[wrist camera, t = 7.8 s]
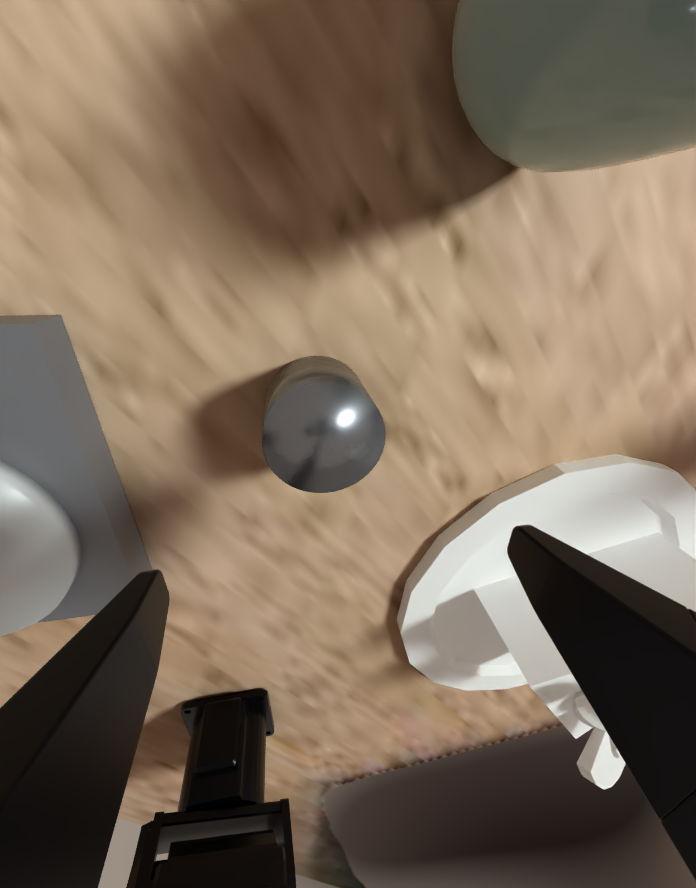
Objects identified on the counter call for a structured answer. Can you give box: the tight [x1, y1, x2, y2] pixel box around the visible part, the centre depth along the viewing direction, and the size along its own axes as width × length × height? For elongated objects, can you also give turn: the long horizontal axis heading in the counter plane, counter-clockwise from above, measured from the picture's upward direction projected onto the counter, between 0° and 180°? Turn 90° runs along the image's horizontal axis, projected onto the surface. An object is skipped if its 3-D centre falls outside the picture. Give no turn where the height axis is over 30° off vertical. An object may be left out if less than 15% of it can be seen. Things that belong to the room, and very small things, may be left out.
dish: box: [397, 454, 696, 789], centre depth 24 cm, size 25×25×11 cm
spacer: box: [262, 356, 385, 493], centre depth 16 cm, size 5×5×4 cm
